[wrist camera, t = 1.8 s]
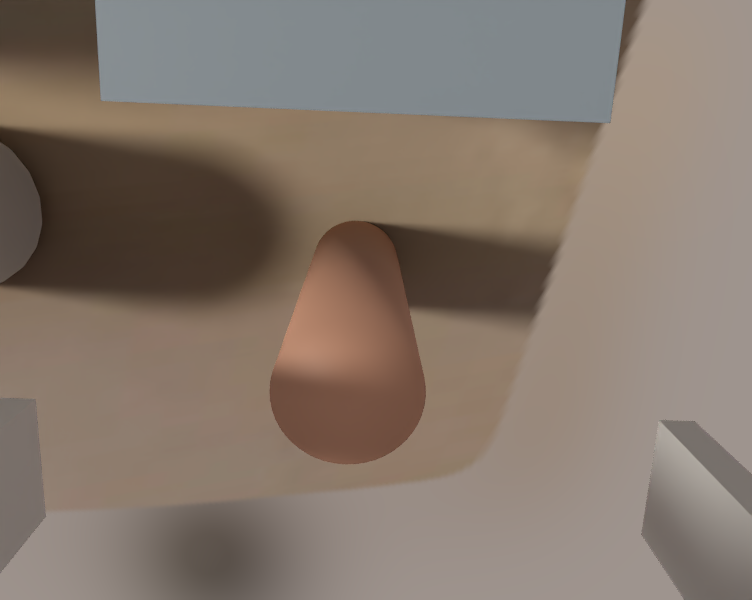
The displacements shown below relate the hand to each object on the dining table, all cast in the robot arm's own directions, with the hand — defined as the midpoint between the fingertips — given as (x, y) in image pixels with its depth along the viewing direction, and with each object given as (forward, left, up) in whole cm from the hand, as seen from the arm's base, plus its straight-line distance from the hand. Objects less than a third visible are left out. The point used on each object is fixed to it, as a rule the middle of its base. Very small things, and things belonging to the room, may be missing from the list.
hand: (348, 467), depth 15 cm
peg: (0, 0, -19) cm, 19 cm away
